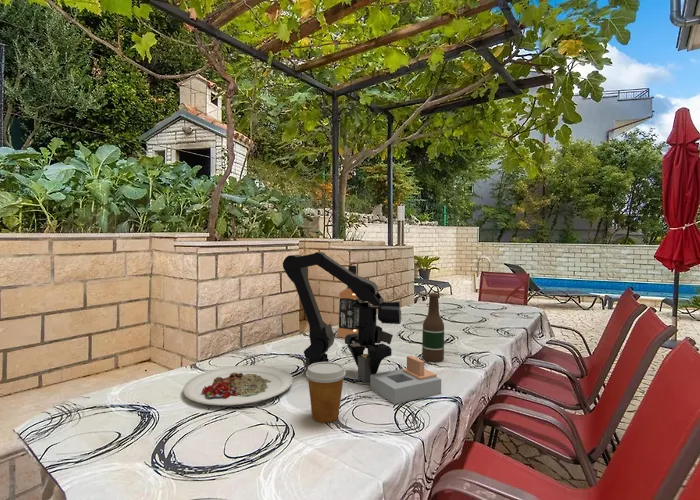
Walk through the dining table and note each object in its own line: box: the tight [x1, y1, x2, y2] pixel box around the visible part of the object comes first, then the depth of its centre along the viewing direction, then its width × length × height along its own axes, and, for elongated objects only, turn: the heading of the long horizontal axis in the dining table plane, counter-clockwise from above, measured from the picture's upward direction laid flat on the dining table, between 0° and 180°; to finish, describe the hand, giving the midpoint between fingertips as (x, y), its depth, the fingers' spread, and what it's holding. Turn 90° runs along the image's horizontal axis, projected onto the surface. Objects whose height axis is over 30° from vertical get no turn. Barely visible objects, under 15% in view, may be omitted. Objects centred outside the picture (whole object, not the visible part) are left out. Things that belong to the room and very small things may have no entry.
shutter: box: [402, 355, 438, 380], centre depth 109 cm, size 6×8×5 cm
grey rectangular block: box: [357, 353, 371, 383], centre depth 116 cm, size 4×4×8 cm
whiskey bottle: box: [336, 264, 365, 339], centre depth 169 cm, size 10×10×32 cm
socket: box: [369, 367, 442, 405], centre depth 107 cm, size 16×12×4 cm
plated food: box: [183, 364, 294, 406], centre depth 108 cm, size 30×30×3 cm
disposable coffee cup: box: [305, 361, 346, 424], centre depth 90 cm, size 10×10×12 cm
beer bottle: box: [421, 292, 445, 363], centre depth 136 cm, size 8×8×24 cm
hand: (366, 372), depth 116 cm, fingers open, 8 cm apart
